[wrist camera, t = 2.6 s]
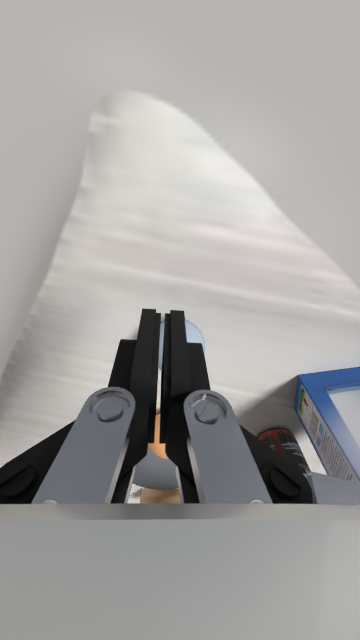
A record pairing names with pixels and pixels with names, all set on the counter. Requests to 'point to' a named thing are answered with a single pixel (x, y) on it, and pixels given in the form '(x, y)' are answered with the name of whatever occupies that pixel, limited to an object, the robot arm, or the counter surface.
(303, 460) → the supplement bottle
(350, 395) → the milk carton
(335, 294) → the counter surface
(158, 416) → the orange ball
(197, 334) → the light blue ball
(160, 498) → the rail
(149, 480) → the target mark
